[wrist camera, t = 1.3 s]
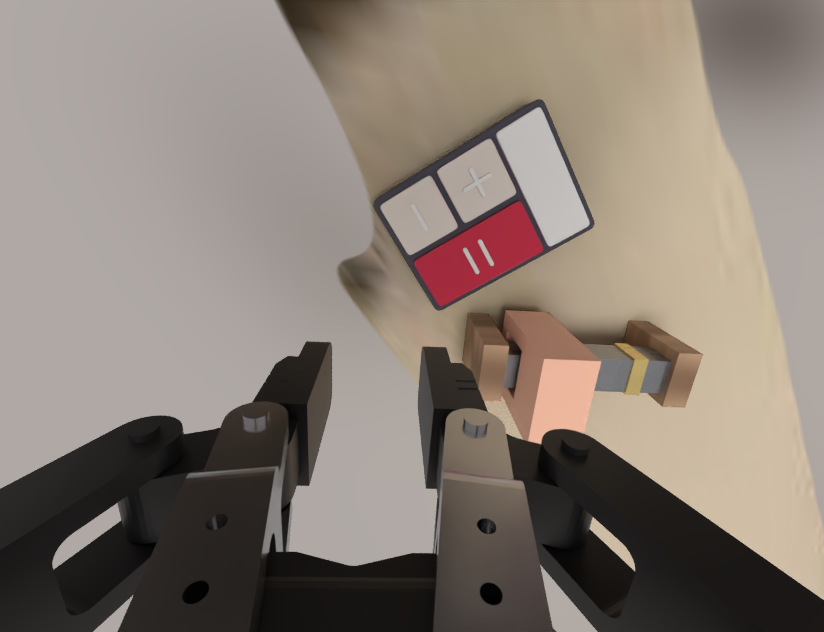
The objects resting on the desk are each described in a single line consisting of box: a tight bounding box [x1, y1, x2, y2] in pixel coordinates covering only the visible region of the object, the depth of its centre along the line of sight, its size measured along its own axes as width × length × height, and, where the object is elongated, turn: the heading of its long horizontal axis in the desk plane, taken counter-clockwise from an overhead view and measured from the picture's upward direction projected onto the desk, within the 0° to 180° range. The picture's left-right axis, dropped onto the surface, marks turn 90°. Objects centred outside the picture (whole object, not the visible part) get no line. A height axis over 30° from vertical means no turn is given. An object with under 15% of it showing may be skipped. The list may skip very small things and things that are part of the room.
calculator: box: [373, 100, 594, 310], centre depth 34 cm, size 11×4×15 cm
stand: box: [462, 313, 703, 407], centre depth 37 cm, size 5×18×8 cm, turn 86°
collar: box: [502, 310, 601, 444], centre depth 33 cm, size 7×4×10 cm, turn 176°
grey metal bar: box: [503, 340, 672, 395], centre depth 35 cm, size 3×16×3 cm, turn 86°
